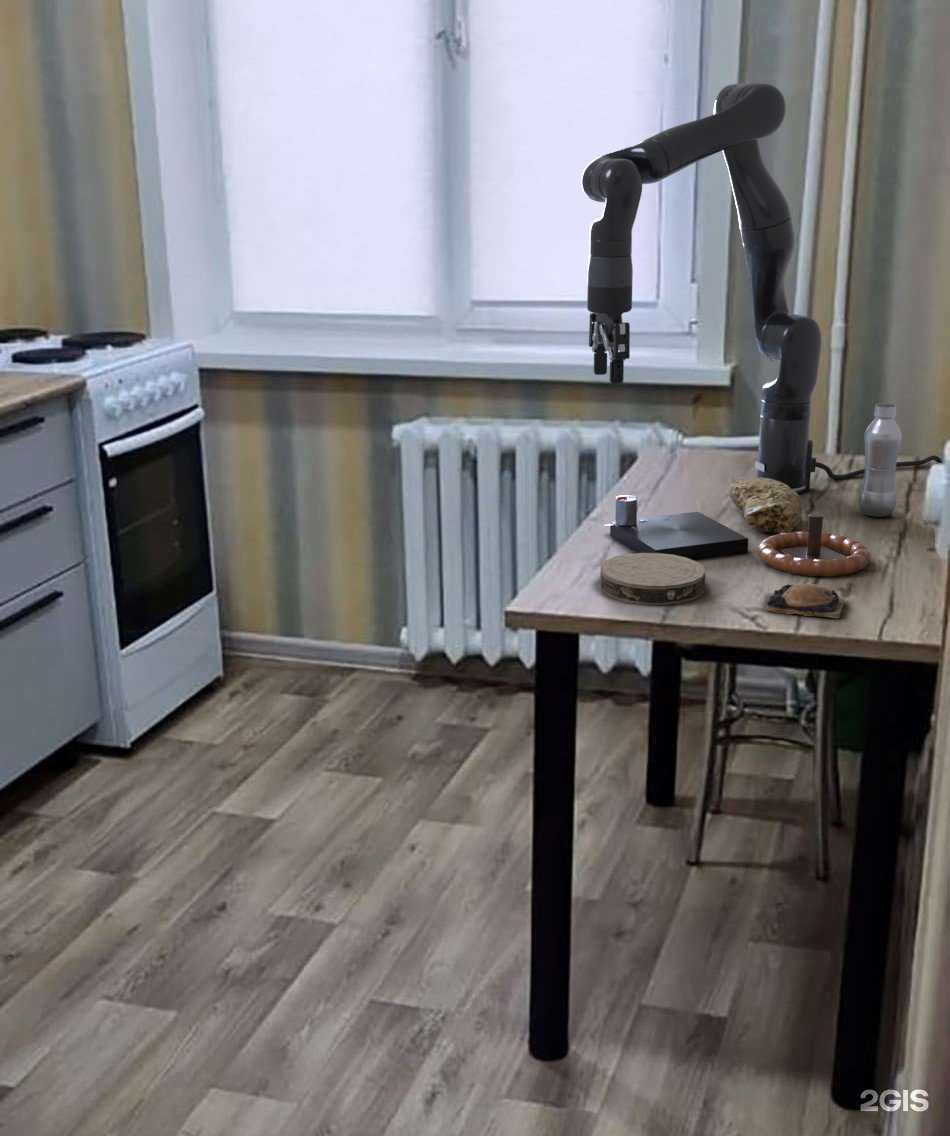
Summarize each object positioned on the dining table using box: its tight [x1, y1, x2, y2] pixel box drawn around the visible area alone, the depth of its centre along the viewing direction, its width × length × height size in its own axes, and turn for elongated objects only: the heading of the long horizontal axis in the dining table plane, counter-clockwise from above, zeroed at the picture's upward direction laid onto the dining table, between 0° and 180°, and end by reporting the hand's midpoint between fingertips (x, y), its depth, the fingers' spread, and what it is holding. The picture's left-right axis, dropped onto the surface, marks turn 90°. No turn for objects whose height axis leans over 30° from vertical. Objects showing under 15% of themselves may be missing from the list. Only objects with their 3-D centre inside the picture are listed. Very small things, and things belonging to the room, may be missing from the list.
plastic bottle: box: [858, 402, 903, 517], centre depth 241 cm, size 6×7×20 cm
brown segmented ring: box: [757, 531, 871, 577], centre depth 220 cm, size 17×17×3 cm
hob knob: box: [614, 494, 638, 526], centre depth 232 cm, size 4×4×5 cm
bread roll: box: [765, 582, 846, 619], centre depth 200 cm, size 11×8×4 cm
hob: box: [604, 511, 749, 561], centre depth 230 cm, size 19×19×3 cm
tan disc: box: [599, 552, 706, 606], centre depth 209 cm, size 16×16×3 cm
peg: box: [778, 512, 847, 560], centre depth 219 cm, size 8×8×8 cm
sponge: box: [729, 477, 804, 534], centre depth 242 cm, size 13×8×20 cm
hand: (608, 378), depth 234 cm, fingers open, 8 cm apart
